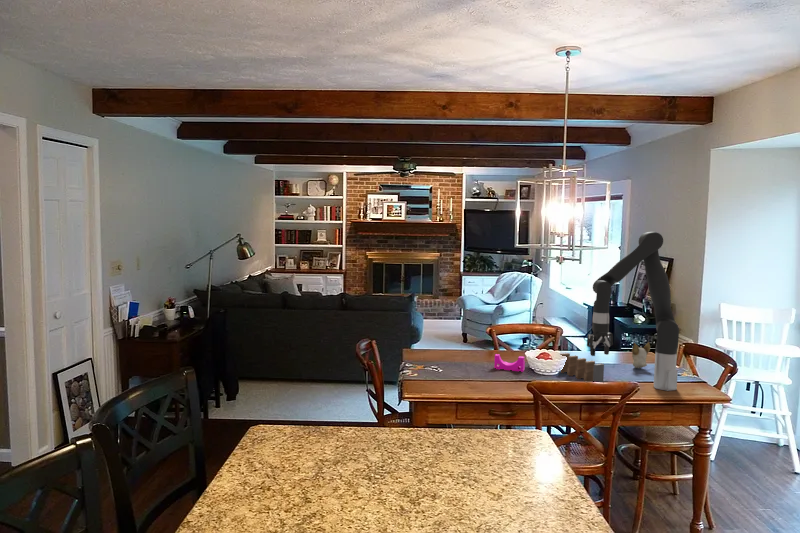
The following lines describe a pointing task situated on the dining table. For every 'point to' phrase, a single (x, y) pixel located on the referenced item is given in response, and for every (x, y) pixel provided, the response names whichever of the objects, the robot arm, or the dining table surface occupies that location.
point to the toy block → (509, 364)
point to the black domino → (598, 372)
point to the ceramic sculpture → (640, 355)
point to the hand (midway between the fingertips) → (599, 355)
